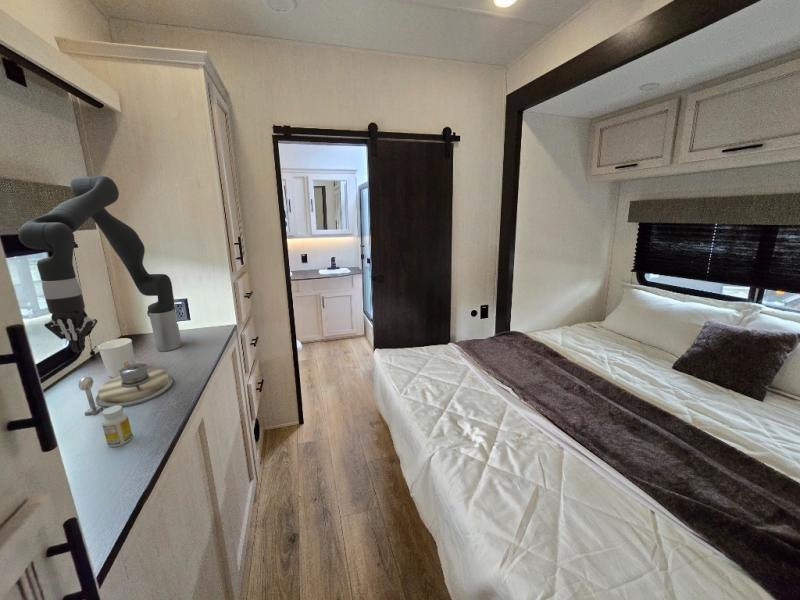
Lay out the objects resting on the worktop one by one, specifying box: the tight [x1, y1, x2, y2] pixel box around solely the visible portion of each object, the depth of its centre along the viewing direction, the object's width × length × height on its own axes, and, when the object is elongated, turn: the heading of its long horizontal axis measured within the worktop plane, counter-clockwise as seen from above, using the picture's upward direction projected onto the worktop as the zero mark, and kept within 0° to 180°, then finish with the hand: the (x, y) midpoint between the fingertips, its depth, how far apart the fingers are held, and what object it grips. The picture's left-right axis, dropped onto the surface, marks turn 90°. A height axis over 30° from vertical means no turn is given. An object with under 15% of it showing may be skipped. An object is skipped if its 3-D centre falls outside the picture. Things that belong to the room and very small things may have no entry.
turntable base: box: [95, 374, 174, 409], centre depth 117 cm, size 21×21×1 cm
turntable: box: [97, 361, 169, 403], centre depth 116 cm, size 20×19×6 cm
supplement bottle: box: [101, 405, 133, 448], centre depth 91 cm, size 5×5×10 cm
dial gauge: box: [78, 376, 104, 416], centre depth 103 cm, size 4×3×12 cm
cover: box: [119, 363, 150, 388], centre depth 115 cm, size 8×8×5 cm
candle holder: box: [97, 337, 136, 379], centre depth 128 cm, size 10×10×12 cm
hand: (79, 351), depth 101 cm, fingers closed
